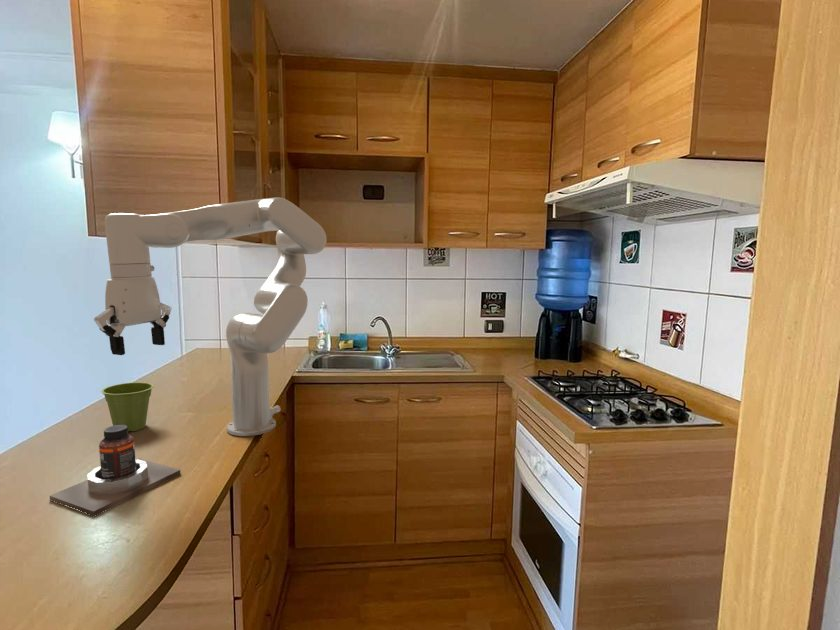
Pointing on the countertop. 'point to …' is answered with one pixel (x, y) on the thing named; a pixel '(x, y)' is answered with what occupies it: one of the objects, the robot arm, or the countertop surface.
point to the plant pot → (128, 404)
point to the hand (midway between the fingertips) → (139, 349)
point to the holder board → (96, 504)
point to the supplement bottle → (117, 453)
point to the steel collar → (117, 480)
